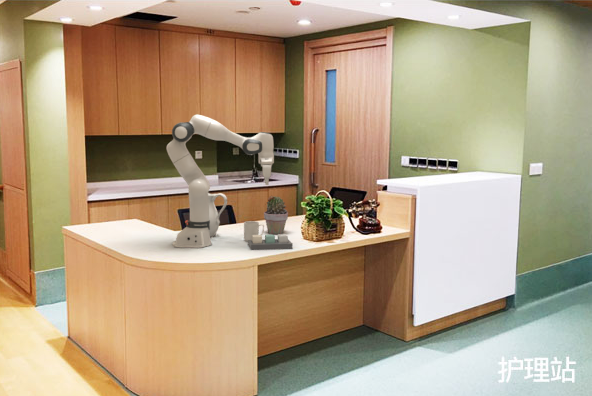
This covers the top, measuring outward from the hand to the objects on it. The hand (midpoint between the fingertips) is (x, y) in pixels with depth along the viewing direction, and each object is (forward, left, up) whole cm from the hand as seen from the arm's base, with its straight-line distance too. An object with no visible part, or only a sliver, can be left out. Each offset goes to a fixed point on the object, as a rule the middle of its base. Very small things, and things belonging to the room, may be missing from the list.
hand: (266, 184), depth 345 cm
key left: (-6, -7, -33) cm, 34 cm away
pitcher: (-30, +27, -36) cm, 54 cm away
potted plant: (+13, +33, -36) cm, 51 cm away
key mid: (+1, -7, -33) cm, 34 cm away
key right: (+9, -7, -33) cm, 35 cm away
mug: (-5, +11, -36) cm, 38 cm away
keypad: (+1, -7, -36) cm, 36 cm away
